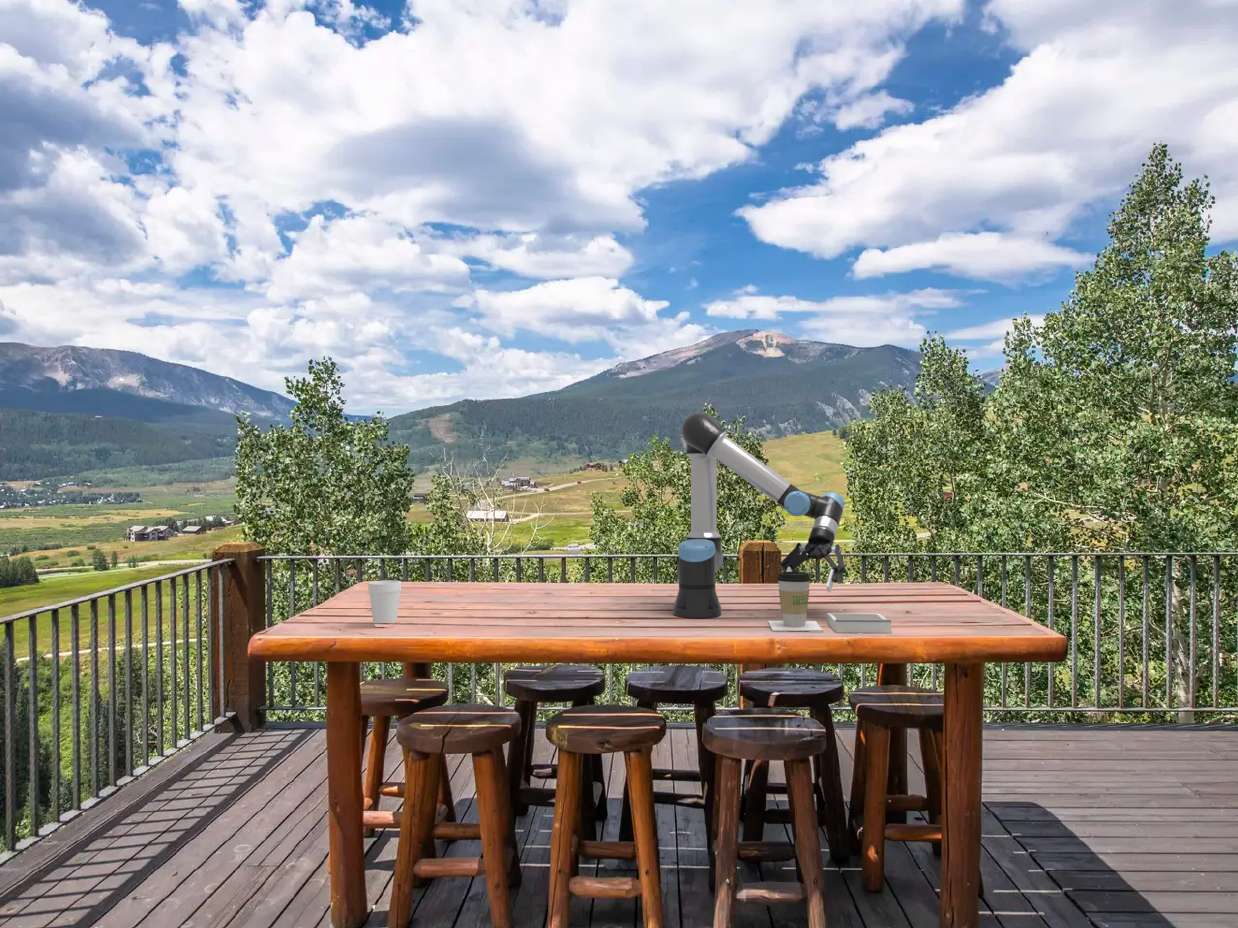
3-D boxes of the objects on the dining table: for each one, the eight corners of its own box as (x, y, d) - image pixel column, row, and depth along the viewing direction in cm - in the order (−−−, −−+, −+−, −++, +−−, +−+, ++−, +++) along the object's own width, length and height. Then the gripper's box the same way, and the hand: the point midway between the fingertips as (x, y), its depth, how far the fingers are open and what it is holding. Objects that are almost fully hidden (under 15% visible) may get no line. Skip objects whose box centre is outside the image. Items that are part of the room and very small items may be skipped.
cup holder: (836, 632, 226) (836, 619, 226) (827, 622, 241) (827, 610, 241) (891, 633, 225) (891, 620, 225) (878, 623, 240) (878, 611, 240)
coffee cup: (812, 628, 229) (811, 575, 230) (776, 627, 231) (776, 574, 232) (811, 622, 239) (810, 571, 239) (777, 621, 241) (776, 571, 241)
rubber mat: (772, 631, 228) (772, 629, 229) (768, 622, 242) (768, 620, 242) (823, 632, 227) (823, 629, 227) (815, 623, 241) (815, 621, 241)
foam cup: (374, 630, 235) (374, 585, 236) (363, 625, 243) (363, 582, 243) (406, 626, 241) (406, 582, 241) (394, 622, 248) (394, 579, 249)
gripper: (865, 543, 250) (850, 598, 238) (788, 540, 264) (770, 592, 252) (859, 527, 246) (844, 582, 233) (782, 525, 260) (763, 577, 247)
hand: (806, 587), depth 242 cm, fingers open, 13 cm apart
